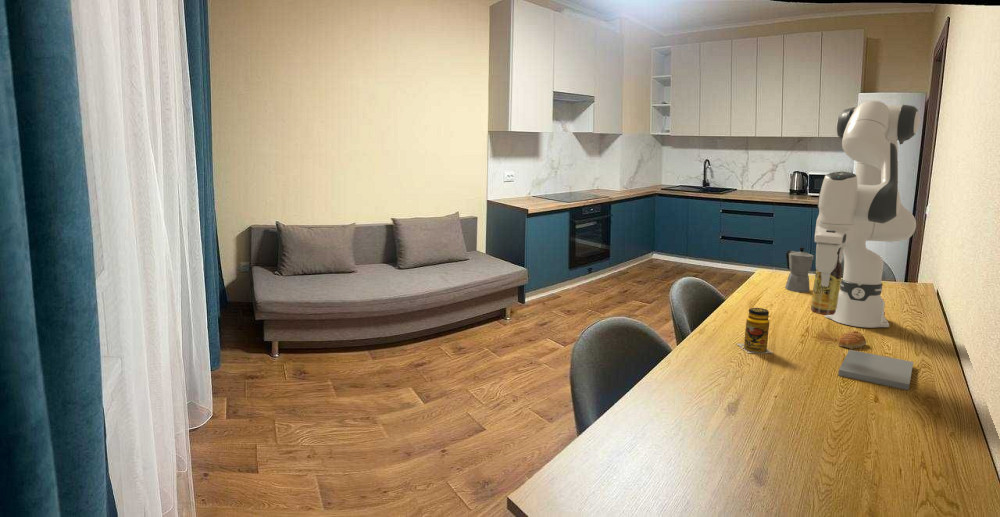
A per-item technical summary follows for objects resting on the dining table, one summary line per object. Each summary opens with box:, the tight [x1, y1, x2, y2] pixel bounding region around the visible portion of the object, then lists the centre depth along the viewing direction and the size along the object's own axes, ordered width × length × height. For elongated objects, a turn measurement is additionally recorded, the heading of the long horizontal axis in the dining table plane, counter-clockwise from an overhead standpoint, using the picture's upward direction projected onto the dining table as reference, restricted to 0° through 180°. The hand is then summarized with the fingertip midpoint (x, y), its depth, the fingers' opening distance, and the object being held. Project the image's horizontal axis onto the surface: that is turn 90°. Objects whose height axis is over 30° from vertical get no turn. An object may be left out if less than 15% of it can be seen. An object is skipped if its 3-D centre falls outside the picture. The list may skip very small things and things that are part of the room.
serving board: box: [837, 349, 914, 391], centre depth 155 cm, size 20×15×2 cm
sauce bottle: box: [810, 248, 843, 316], centre depth 161 cm, size 7×6×20 cm
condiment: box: [735, 307, 774, 354], centre depth 170 cm, size 7×8×12 cm
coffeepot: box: [784, 246, 815, 293], centre depth 246 cm, size 15×9×18 cm, turn 12°
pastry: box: [837, 330, 868, 350], centre depth 176 cm, size 9×7×4 cm
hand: (827, 283), depth 161 cm, fingers closed on sauce bottle, 6 cm apart
